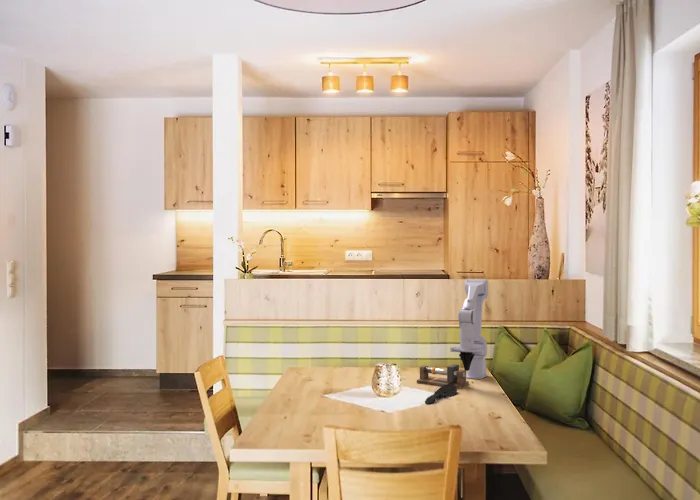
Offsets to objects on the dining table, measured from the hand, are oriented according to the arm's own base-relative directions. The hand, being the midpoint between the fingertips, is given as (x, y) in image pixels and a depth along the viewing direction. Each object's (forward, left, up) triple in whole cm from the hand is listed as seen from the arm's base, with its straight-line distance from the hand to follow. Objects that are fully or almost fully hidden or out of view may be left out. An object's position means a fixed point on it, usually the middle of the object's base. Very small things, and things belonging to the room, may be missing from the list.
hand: (467, 370), depth 285 cm
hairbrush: (+22, -2, -8) cm, 23 cm away
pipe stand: (0, -11, -7) cm, 14 cm away
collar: (0, -6, -5) cm, 8 cm away
